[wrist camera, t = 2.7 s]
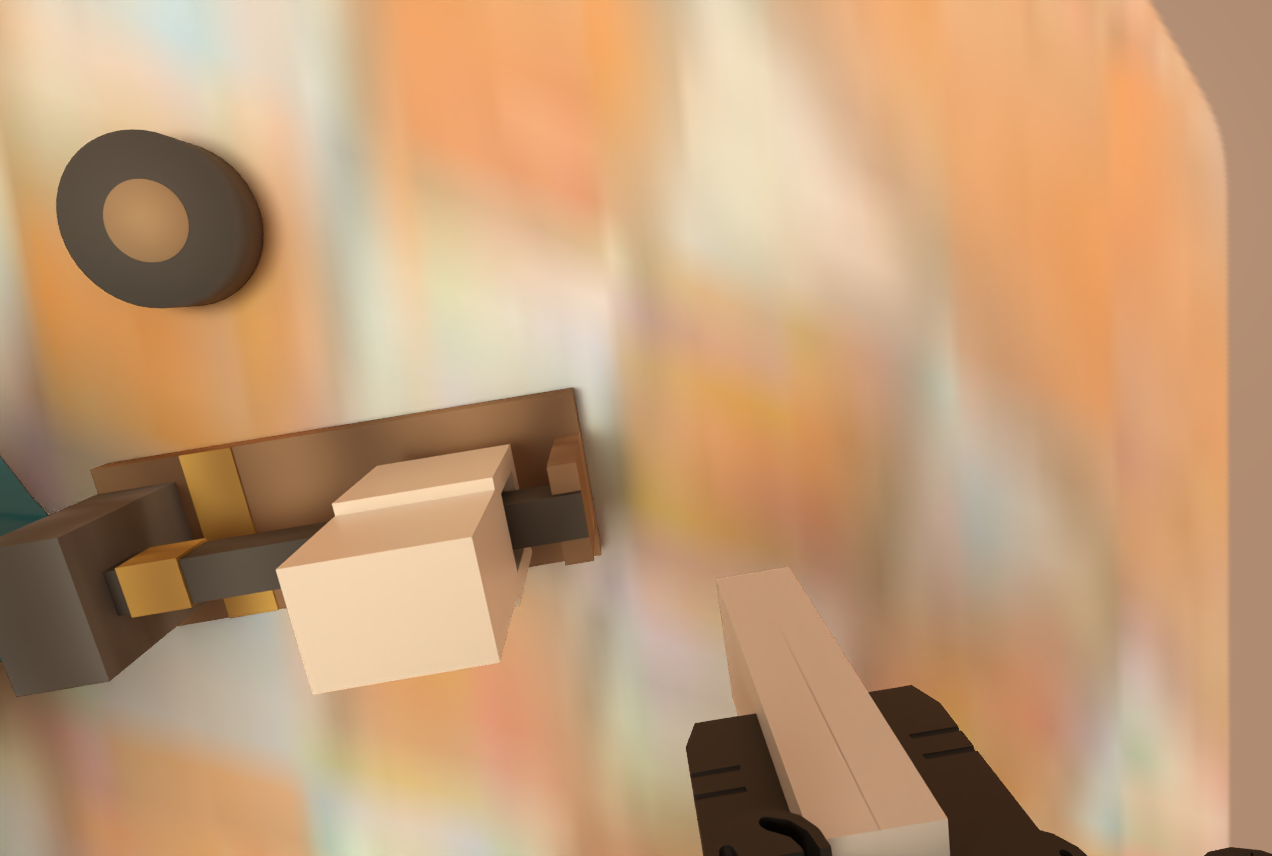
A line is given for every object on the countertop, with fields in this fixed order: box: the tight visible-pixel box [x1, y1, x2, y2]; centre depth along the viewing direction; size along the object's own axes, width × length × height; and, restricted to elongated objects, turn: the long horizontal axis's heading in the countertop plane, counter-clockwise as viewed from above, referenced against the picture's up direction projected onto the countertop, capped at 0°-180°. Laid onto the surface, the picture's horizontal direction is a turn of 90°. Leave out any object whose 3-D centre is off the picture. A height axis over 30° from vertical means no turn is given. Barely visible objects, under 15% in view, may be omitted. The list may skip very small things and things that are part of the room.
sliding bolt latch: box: [0, 388, 601, 697], centre depth 25 cm, size 19×7×7 cm, turn 99°
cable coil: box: [56, 130, 263, 308], centre depth 25 cm, size 6×6×2 cm
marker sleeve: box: [276, 444, 532, 695], centre depth 22 cm, size 5×4×8 cm
